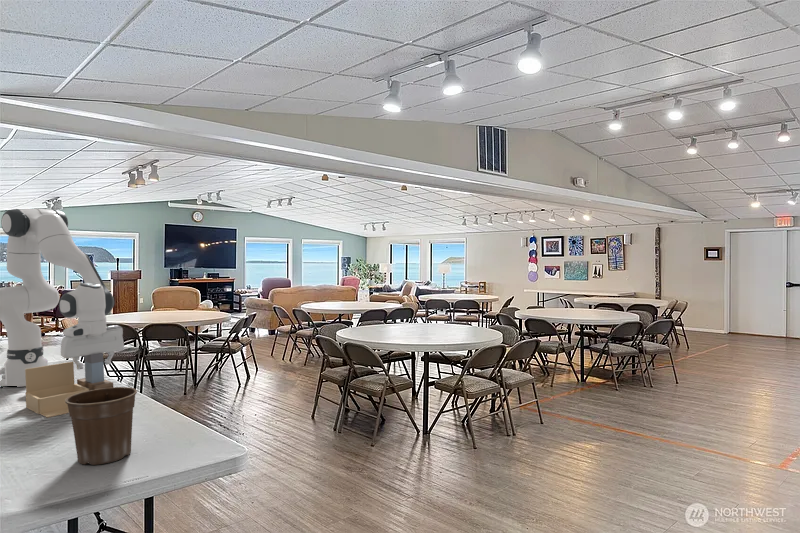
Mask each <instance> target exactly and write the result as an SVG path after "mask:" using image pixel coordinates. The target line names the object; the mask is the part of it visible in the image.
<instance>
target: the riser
mask: <svg viewBox="0 0 800 533" xmlns="http://www.w3.org/2000/svg"><path fill="white" fill-rule="evenodd" d="M76 384H78V385H81V386H83V387H86V388H88V389H89V391H90V390H95V389H102V388H112V387H114V382H113V381H110V380H106V379H104V381H102V382H97V383H90V382H87V381H85V377H84V378H83V377H82V378H77V380H76Z"/></svg>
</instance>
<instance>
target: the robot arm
mask: <svg viewBox="0 0 800 533" xmlns="http://www.w3.org/2000/svg"><path fill="white" fill-rule="evenodd" d="M0 223H1V224H0V225H1V229H2V231H3V232H4V233H5V235H7V236H8V238H7V244H6V271H7V273H9V275H12V277H13V276H14V278H15V277H16V278H17V279H20V280H22V285H20V286H18V285H17V286H3V287H0V322H1V323H2V324H3V326H4V328H5V331H6V336H7V347H8V349H7V351H6V361H5V363H4V364H3V367H1V368H0V376H1V378H2V380H1V381H0V386H17V387H16V388H19V387H20V388H21V387H26V378H25V369H29V368H35V367H42V366H48V365H49V362H48V361H49V360H48V359H47V358H45V357H44V346H43V344H42V330H41V327H40V326H39V325H38V324H37V323H35V322H32V321H28V320H27V319H26V317H25V314H31V313H40V312H46V311H50V310H53V309H55V308H56V307H57V306H58V310H59V313H60V314H62V316H64V317H65V318H67V319H78V320H77V324H74V325H72V326H70V327H66V328H65V329H64V330H62V333H63V334H62V335H64V337H62V340H61V343H60V356H61V357H62V358H63V359H72V362H73V363H74V364H75V365H76V369H77V370H83V369H84V364H83V363H81V362H80V361H79V360H80V357H84V356H87V355H91V354H97V353H103V354H106V353H107V354H108V356H107V358H105V359H104V365H111V364H112V359H113V357H114V355H115V352H119V351H122V350H123V349H124V347H125V344H124V342H125V341H124V338H123V335H124V332H123V331H124V329H123V327H122V326H120V325H117V324H116V325H107V317H106V316H107V315H108V314H110V313H111V311H112V310H113V308H114V307H115V297H114V295H113V294H112V292H111V291H110V290H109V289H108V288H107V286H106V285H105V283H104V282H103V279H102V278H101V275H100V274H99V272H98V270H97V268H96V267H95V265H94V263H93V261H92V260H91V258H90V256H88V254H86V253H85V252H84V251H82V250H81V248H79V247H78V246H77V244H76V243H75V241H74V240H73V237H72V234H71V232H70V230H69V220H68V217H67V215H66V214H65V212H63V211H62V210H59V209H58V210H57V209H53V208H52V209H47V208H38V207H37V208H21V209H19V208H13V209H12V208H11V209H9V210H6V211H4V213H3V214H2V216H1V222H0ZM41 255H42V257H43V259H44V260H46V261H47V263H50V264H52V265H55V266H58V267H63V268H66V269H70V270H72V271H73V272H74V271H75V272H76V273H78V274H79V275H80V276H81V278H82V279H83V282H82V283H80V284H78V285H77V288H75V289H73V290H71V291H68V292H66V293H64V294H62V296H61V297H60V293H59V290H58V289H57V288H56V287H55V286H53V285H51V284H50V283H49V282H48V281H47V280H46V278H45V277H44V275H43V271H42V262H41Z"/></svg>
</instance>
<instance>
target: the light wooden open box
mask: <svg viewBox="0 0 800 533" xmlns="http://www.w3.org/2000/svg"><path fill="white" fill-rule="evenodd" d="M74 365H75V362H74V361H68V362H67V361H66V362H61V363H60V362H59V363H56V364H48V366H42V367H35V368H29V369H25V378H26V386H25V409H28V410H30V411H32V412H33V413H36V414H37V415H41V416H43V417H45V418H47V419H48V418H53V417H56V416H61V415H67V414H69V410H68V405H67V404H66V403H65V399H66V398H68V397H70V396H72V395H74V394H77V393H81V392H85V391H89V389H88V388H86V387H83V386H81V385H78V384H77V383H75V372H74V371H75V366H74Z"/></svg>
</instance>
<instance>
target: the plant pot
mask: <svg viewBox="0 0 800 533" xmlns="http://www.w3.org/2000/svg"><path fill="white" fill-rule="evenodd" d="M137 393H138V390H137V389H136V388H134V387H130V386H129V387H127V386H119V387H118V386H116V387H114V386H113V387H112V388H102V389H95V390H90V391H85V392H81V393H77V394H74V395H72V396H70V397H68V398H66V399H65V403H66V404H67V405H68V410H69V413H68V416H69V417H70V418H71V424H72V430H73V431H72V432H73V436H74V443H75V450H76V455H77V456H76V457H77V462H78V464H80V465H87V464H90V465H91V466H95V465H105V464H110V463H113V462H116V461H119V460H122V459H124V457H126V456H129V455H130V454H131V452H132V439H133V438H132V437H133V436H132V434H133V416H134V415H133V414H134V408H135V403H136V402H135V401H136V395H137Z"/></svg>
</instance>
